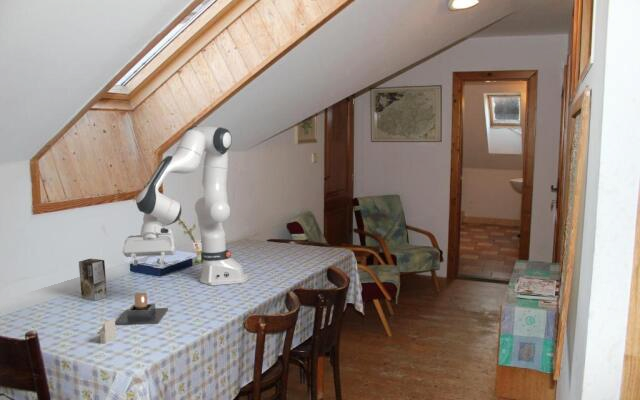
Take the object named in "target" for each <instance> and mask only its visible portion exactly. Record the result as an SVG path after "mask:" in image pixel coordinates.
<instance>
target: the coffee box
mask: <svg viewBox="0 0 640 400" xmlns="http://www.w3.org/2000/svg"><path fill="white" fill-rule="evenodd" d="M78 268H79V269H78V270H79V272H78V273H79V279H80V280H79V281H80V282H79V284H80V292H81V299H84V300H90V301H98V300H99V301H100V300H101V299H105V298H107V297H108V292H107V277H106V265H105V260H104V259H98V258H97V259H96V258H87V259H83V260H80V261H78Z"/></svg>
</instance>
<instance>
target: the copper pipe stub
mask: <svg viewBox="0 0 640 400" xmlns="http://www.w3.org/2000/svg"><path fill="white" fill-rule="evenodd" d="M147 295H148V294H147V292H138V293H135V294H134V305H135V310H148V306H147V304H148V296H147Z"/></svg>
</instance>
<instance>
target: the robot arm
mask: <svg viewBox="0 0 640 400" xmlns="http://www.w3.org/2000/svg"><path fill="white" fill-rule="evenodd" d="M232 141H233V138H232V134H231V132H230V130H229V129H227V128H225V127H219V126H218V127H217V126H211V125H207V126H202V125H201V126H197V125H195V126H190V127H188V128H187V129H186V130H185V132H184V134H183V135H182V137H181V138H180V141H179V143H178V144H177V146H176V149H175V151H174V152H173V154H171V155H167V156H166V157H164V158H163V159H162V160H161V162H160V163H159V165H158V166H157V168H156V169H155V171H154V173H153V174H152V175H151V177H150V179H149V180H148V182H147V183H146V185H145V186H144V188H143V189H142V190H141V191H140V193H139V194H138V195H137V197H136V199H135V204H136V206H137V210H138V211H139V212H141V213H143V217H142V218H143V219H142V221H143V223H142V225H141V230H140V234H138V235H129V236H127V237H125V240H124V245H123V247H122V253H123V255H124V256H125V258H131V259H132V265H133V266H138V264H139V260H138V259H137V257H158V256H159V258H156V259H157V260H156V264H157V265H162V263H163V261H164V260H165V259H166V256H174V255H175V254H176V242H175V236H174V233H173V231H172V229H170V228H166V227H165V226H169V225H172V224H174V223H177V221H179V219H180V218H181V215H182V205H181V203H180V202H178V201H177V200H174V199H173V198H171V197H169V196H167V195H165V194H163V193H161V192H160V191H159V188H160V187H161V185H162V183H163V182H164V181H165V179H166V177H167V175H169V174H170V173H171V174H172V173H173V174H180V175H181V174H182V175H183V174H185V175H186V174H191V173H193V172H195V171H196V170H197V169H198V167H199V165H200V163H201V161H202V158H203V155H204V152H205V156H204V159H203V170H202V180H201V181H202V182H201V183H202V187H203V193H204V195H203V196H202V197H200V198H199V199H197V200H196V202H195V204H194V211H195V213H196V216H197V218H196V219H197V221H198V227H199V231H200V238H201V239H200V242H201V251H200V262H201V274H200V277H199V282H200V283H202V284H206V285H209V286H221V285H234V284H235V285H236V284H243V283H247V282H248V281H249V279H250V277H249V275H248V274H247V273H244V268H243V265H242V264H241V263H239V261H237V260H235V259H234V258H232V255H231V253H232V252H231V250H228V249H227V246H226V245H227V243H226V242H227V240H226V231H225V229H224V227H223V222H225V221H226V220H228V219H229V217H230V215H231V207H230V205H229V200H228V187H227V185H228V183H227V182H228V171H229V149H231V146H232Z"/></svg>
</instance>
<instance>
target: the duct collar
mask: <svg viewBox="0 0 640 400" xmlns="http://www.w3.org/2000/svg"><path fill="white" fill-rule="evenodd" d="M147 306H148V310H135V304H132V305H131V306H130V307H129V308H128V309H126V310H125V311H124V312H123V313H122V314H120V316H119V317H118V318H117V319H115V326H129V325H130V326H132V325H154V324H155V325H159V323H160V322H161V321H162V319H163V317H164V316H165V315H166V314H167V313H168V311H169V308H168V307H158V308H156V303H147Z"/></svg>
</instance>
